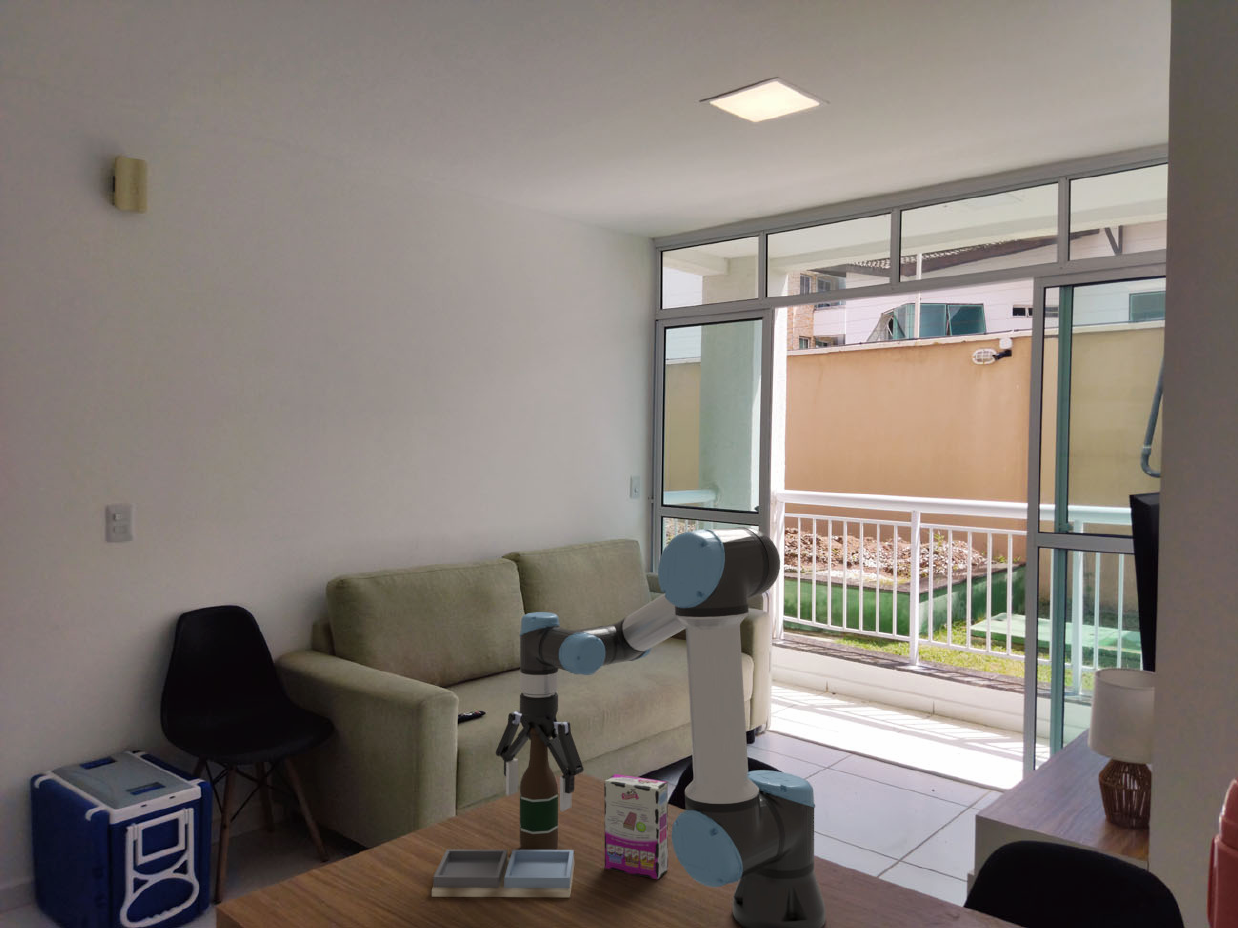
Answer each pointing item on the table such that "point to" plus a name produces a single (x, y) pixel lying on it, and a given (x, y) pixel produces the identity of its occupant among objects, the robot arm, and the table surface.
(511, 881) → the light blue shallow tray
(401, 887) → the table surface
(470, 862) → the tray
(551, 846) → the beer bottle
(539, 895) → the board
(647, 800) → the candy bar box
